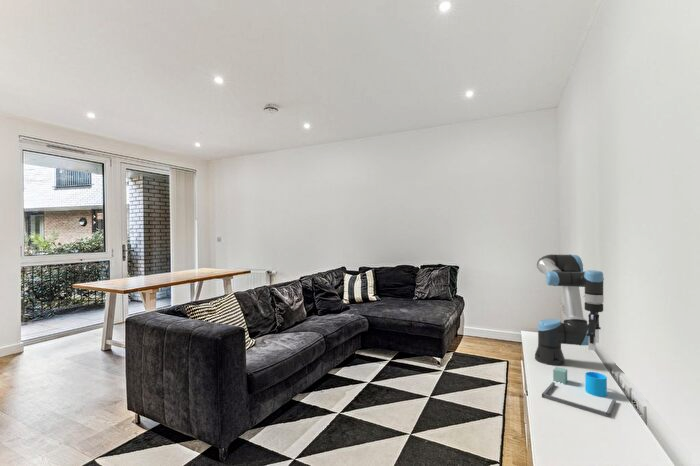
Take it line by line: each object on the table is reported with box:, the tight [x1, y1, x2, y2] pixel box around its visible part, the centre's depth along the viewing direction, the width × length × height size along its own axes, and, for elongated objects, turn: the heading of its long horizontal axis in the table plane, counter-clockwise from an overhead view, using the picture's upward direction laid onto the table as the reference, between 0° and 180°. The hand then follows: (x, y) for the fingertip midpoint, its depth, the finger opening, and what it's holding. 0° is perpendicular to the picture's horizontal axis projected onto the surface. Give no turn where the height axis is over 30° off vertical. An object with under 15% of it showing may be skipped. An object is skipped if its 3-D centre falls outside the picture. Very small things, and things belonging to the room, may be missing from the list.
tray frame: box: [541, 381, 617, 418], centre depth 157 cm, size 17×25×2 cm
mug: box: [584, 371, 608, 398], centre depth 165 cm, size 12×8×8 cm
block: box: [552, 366, 568, 385], centre depth 176 cm, size 5×5×6 cm
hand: (593, 345), depth 171 cm, fingers open, 13 cm apart
